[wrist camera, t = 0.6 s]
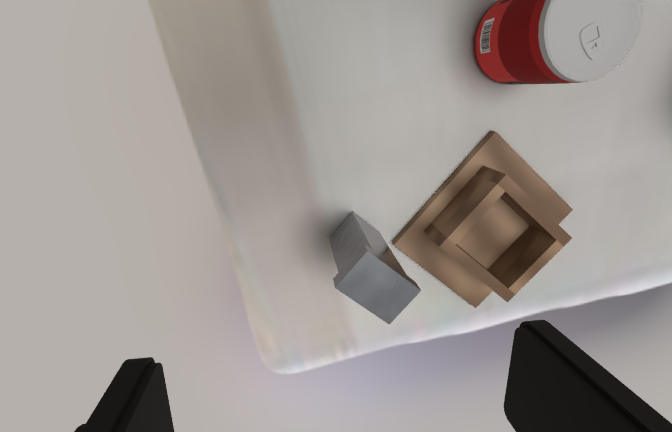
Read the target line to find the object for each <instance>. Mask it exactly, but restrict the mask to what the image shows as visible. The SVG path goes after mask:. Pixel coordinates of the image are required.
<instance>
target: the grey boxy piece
mask: <svg viewBox="0 0 672 432" xmlns="http://www.w3.org/2000/svg"><path fill="white" fill-rule="evenodd" d="M329 239H330V243H331V246H332V250H333V254H334V257H335V261H336V265H337V268H338V272H339V273H338V274H337V275H336V276H335V277H334V278H333V280H334V285H335V288H336V289H338V290H339V291H341V292H342V293H344V294H345V295H347V296H348V297H350V298H351V299H352V300H354V301H355V302H357V303H358V304H360V305H361V306H363V307H364V308H366V309H367V310H369V311H370V312H372V313H373V314H375V315H376V316H378V317H379V318H380V319H382V320H383V321H385V322H386V323H388V324H390V323H391V322H392V321H393V320H394V319H395V318H396V317H397V316H398V315H399V314H400V313H401V311H402V310H403V309H404V308H405V307H406V306H407V305H408V304H409V303H410V302H411V301H412V300H413V299H414V298H415V297H416V296H417V294H418V293H419V292H420V291H421V290H420V288H419V287H418V285H417V284H416V282H415V281H413V280H412V279H411V278H409V277H408V276H407V275H406V273H405V272H404V270H403V269H402V267H401V265H400V264H399V262H398V261H397V259H396V258H395V256H394V255H393V253H392V251H391V250H390V248H389V247H388V245H387V244H386V242H385V240H384V239H383V237H382V236H381V234H380V233H379V231H377V230H376V229H375V228H373V227H372V226H371V225H369V224H368V223H367V222H366V221H364V220H363V219H362V218H360V217H359V216H358V215H356V214H355V213H354V212H353V211H352V212H351V213H350V215H349V216H348V217H347V218H346V219H345V220H344V222H343V223H342V224H341V225H340V226H339V228H338V229H337V230H336V231H335V232H334V233H333V235H332V236H331V237H330V238H329Z"/></svg>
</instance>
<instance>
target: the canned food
mask: <svg viewBox="0 0 672 432" xmlns="http://www.w3.org/2000/svg"><path fill="white" fill-rule="evenodd" d="M641 20H642V0H500V1H498V2H497V3H495V4H494V5H493V6H492V7H491V8H490V9H489V10H488V12H487V13H486V14H485V16H484V17H483V18H482V20H481V22H480V24H479V26H478V29H477V32H476V35H475V42H474V46H475V55H476V59H477V62H478V65H479V66H480V68H481V70H482V71H483V72H484V73H485V74H486V75H487V76H488V77H490V78H491V79H493V80H494V81H496V82H499V83H502V84H556V83H580V82H587V81H593V80H596V79H599V78H601V77H604V76H605V75H607V74H609V73H610V72H612V71H613V70H614V69H615V68H616V67H618V66H619V65H620V64H621V63H622V61H623V60H624V59H625V58H626V57H627V55H628V54H629V52H630V50H631V49H632V47H633V45H634V43H635V41H636V38H637V36H638V33H639V29H640V26H641Z"/></svg>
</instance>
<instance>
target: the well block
mask: <svg viewBox="0 0 672 432" xmlns="http://www.w3.org/2000/svg"><path fill="white" fill-rule="evenodd" d="M572 210H573V209H572V208H571V207H570V206H569V205H568V204H567V203H566V202H565V201H564V200H563V199H562V198H561V197H560V196H559V195H558V194H557V193H556V192H555V191H554V190H553V189H552V188H551V187H550V186H549V185H548V184H547V183H546V182H545V181H544V180H543V179H542V178H541V177H540V176H539V175H538V174H537V173H536V172H535V171H534V170H533V169H532V168H531V167H530V166H529V165H528V164H527V163H526V162H525V161H524V160H523V159H522V158H521V157H520V156H519V155H518V154H517V153H516V152H515V151H514V150H513V149H512V148H511V147H510V146H509V145H508V143H507V142H506V141H505V140H504V139H503V138H502V137H501V136H500V135H499V134H498V133H497V132H495V131H490V132H489V133H488V134H487V135H486V137H485V138H484V139H483V140H482V141H481V142H480V143H479V144H478V146H477V147H476V148H475V149H474V150H473V151H472V152H471V153H470V155H469V156H468V157H467V158H466V159H465V160H464V161H463V162H462V164H461V165H460V166H459V167H458V168H457V169H456V170H455V171H454V172H453V174H452V175H451V176H450V177H449V178H448V179H447V180H446V181H445V183H444V184H443V185H442V186H441V187H440V188H439V189H438V190H437V192H436V193H435V194H434V195H433V196H432V197H431V198H430V199H429V201H428V202H427V203H426V204H425V205H424V206H423V207H422V208H421V209H420V211H419V212H418V213H417V214H416V215H415V216H414V217H413V218H412V220H411V221H410V222H409V223H408V224H407V225H406V226H405V227H404V229H403V230H402V231H401V232H400V233H399V234H398V235H397V236H396V238H395V239H394V240H393V241H392V243H393V244H394V245H395V246H396V247H397V248H398V249H400V250H401V251H402V252H404V253H405V254H406V255H408V256H409V257H410V258H411V259H413V260H414V261H415V262H417V263H418V264H419V265H421V266H422V267H423V268H424V269H426V270H427V271H428V272H430V273H431V274H432V275H434V276H435V277H436V278H437V279H439V280H440V281H441V282H443V283H444V284H445V285H446V286H448V287H449V288H450V289H452V290H453V291H454V292H456V293H457V294H458V295H459V296H461V297H462V298H463V299H465V300H466V301H467V302H469V303H470V304H471V305H472V306H474V307H475V308H476V307H477V306H478V305H479V304H480V303H481V302H482V301H483V300H484V299H485V298H486V297H487V296H488V295H489V294H490V293H491V292H492V291H494V292H495V293H497V294H498V295H499V296H500V297H502V298H503V299H504V300H505V301H507V302H508V301H509V300H510V299H511V298H512V297H513V296H514V295H515V294H516V293H517V292H518V291H519V290H520V289H521V288H522V287H523V286H524V285H525V284H526V283H527V282H528V281H529V280H530V279H531V278H532V277H533V276H534V275H535V274H536V273H537V272H538V271H539V270H540V269H541V268H542V267H543V266H544V265H545V264H546V263H547V262H548V261H549V260H550V259H552V258H553V257H554V256H555V255H556V254H557V253H558V252H559V251H560V250H561V249H562V248H563V247H564V246H565V245H566V244H567V243H568V242H569V241H570V240H571V239H572V237H571V236H569V235H568V234H567V233H566V232H565V231H564V230H563V229H562V228H561V227H560V226H559V225H558V224H559V223H560V222H561V221H562V220H563V219H564V218H565V217H566V216H567V215H568V214H569V213H570V212H571V211H572Z"/></svg>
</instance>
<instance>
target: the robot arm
mask: <svg viewBox="0 0 672 432" xmlns="http://www.w3.org/2000/svg"><path fill="white" fill-rule="evenodd" d="M504 411H505V415H506V416H507V419H508V420H509V422H510V423H511V425H512V426H513V428H514V429H515V431H516V432H672V424H671V423H670V422H669V421H668V420H666V419H665V418H664V417H663V416H662V415H660V414H659V413H658V412H657V411H655V410H654V409H653V408H652V407H651V406H649V405H648V404H647V403H646V402H645V401H643V400H642V399H641V398H640V397H638V396H637V395H636V394H635V393H634V392H632V391H631V390H630V389H629V388H628V387H626V386H625V385H624V384H623V383H621V382H620V381H619V380H618V379H617V378H615V377H614V376H613V375H612V374H611V373H609V372H608V371H607V370H606V369H604V368H603V367H602V366H601V365H600V364H598V363H597V362H596V361H595V360H594V359H592V358H591V357H590V356H589V355H587V354H586V353H585V352H584V351H583V350H581V349H580V348H579V347H578V346H577V345H575V344H574V343H573V342H572V341H570V340H569V339H568V338H567V337H566V336H564V335H563V334H562V333H561V332H559V331H558V330H557V329H556V328H555V327H553V326H552V325H551V324H550V323H549V322H547V321H545V320H535V321H525V322H522V323H521V324H520V327H519V328H517V329H516V330H515V334H514V341H513V347H512V355H511V361H510V367H509V374H508V381H507V387H506V394H505V401H504ZM74 432H174V428H173V423H172V417H171V411H170V406H169V400H168V395H167V390H166V384H165V378H164V373H163V367H162V364H161V363H155V362H154V359H153V358H151V357H149V358H139V359H128V360H126V361H125V362H124V363H123V364H122V366H121V368H120V369H119V371H118V372H117V374H116V376H115V377H114V379H113V380H112V382H111V384H110V385H109V387H108V389H107V390H106V392H105V393H104V395H103V397H102V398H101V400H100V402H99V403H98V405H97V407H96V408H95V410H94V411H93V413H92V415H91V416H90V418H89V419H88V421H87V423H86V424H82V425H81V426H79V427H78V428H77V429H76V430H75V431H74Z"/></svg>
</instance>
